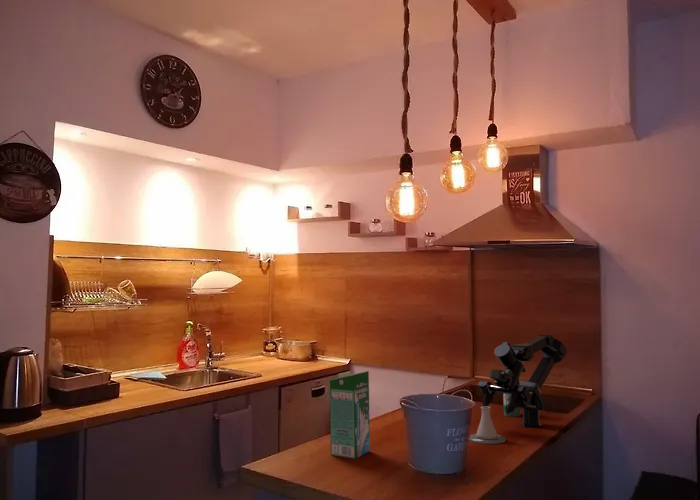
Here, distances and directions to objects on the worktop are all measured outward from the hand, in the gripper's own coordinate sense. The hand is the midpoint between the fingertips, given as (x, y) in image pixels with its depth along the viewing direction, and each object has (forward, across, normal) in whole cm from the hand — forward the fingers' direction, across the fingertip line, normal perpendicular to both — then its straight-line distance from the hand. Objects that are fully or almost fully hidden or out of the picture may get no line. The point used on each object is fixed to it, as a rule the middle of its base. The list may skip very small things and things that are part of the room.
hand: (494, 411), depth 188 cm
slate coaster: (+10, 0, +2) cm, 10 cm away
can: (-16, -14, +30) cm, 37 cm away
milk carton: (+40, -20, -29) cm, 53 cm away
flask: (+9, 0, +2) cm, 10 cm away
